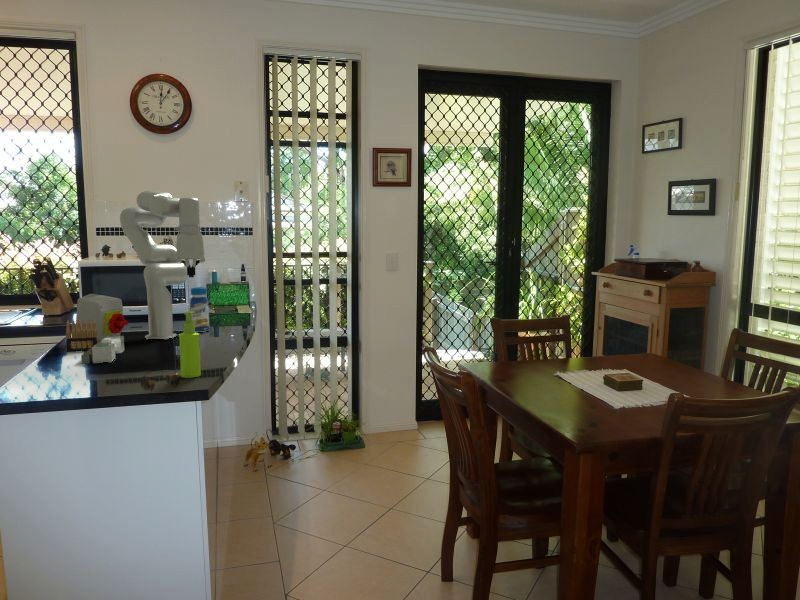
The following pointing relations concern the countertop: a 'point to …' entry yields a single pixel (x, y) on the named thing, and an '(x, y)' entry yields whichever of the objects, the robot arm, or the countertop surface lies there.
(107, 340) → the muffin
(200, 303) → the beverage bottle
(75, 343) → the ammunition clip
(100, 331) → the electrical switch box
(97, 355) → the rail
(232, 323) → the countertop surface
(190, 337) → the soap dispenser
